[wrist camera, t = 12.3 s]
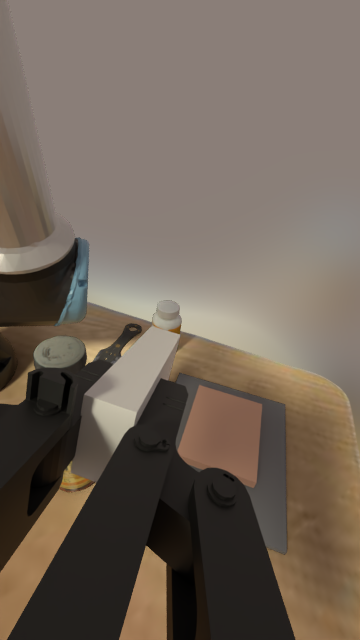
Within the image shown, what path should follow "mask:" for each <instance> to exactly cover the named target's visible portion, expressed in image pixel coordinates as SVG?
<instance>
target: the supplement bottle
mask: <svg viewBox="0 0 360 640" xmlns="http://www.w3.org/2000/svg"><path fill="white" fill-rule="evenodd" d="M179 309H180V308H179V305H178V304H177V303H176V302H173V301H169V300H166V301H161V302H159V303H158V305H157V312H156V313H155V314H154V315H153V318H152V326H153V327H157V328H160V329H163V330H166V331H170V332H173V333H176V334H180V328H181V322H182V321H181V317H180V315H179ZM177 349H178V347H177Z"/></svg>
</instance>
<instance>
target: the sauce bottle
mask: <svg viewBox="0 0 360 640" xmlns="http://www.w3.org/2000/svg"><path fill="white" fill-rule="evenodd" d="M33 358H34V366H35V369H40V368H46V367H51V368H61V369H66V370H68V371H70V372H72V373H73V374H74V375H75V374H76V373H77V372H79V371H81V369H82V368H83V367H85V364H86V360H87V355H86V348H85V345H84V343H83V342H82V341H81V340H79V339H77V338H75V337H71V336H55V337H53V338H49V339H47V340H45V341H43V342H42V343H40V344H39V345H38V346H37V347H36V349H35V351H34V353H33ZM72 462H73V460H72V461H71V462H70V464H69V465H68V466H67V468H66V469H65V470H64V474H63V480H62V483H61V485H60V489H61V490H63V491H66V492H76V491H80V490H82V489H86V488H87V487H89V486H90V485H91V484H92V483H93V482H94V481H92V480H89V479H86V478H83V477H81V476H78V475H75V474H73V473H71V468H72Z"/></svg>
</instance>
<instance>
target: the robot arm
mask: <svg viewBox="0 0 360 640" xmlns="http://www.w3.org/2000/svg"><path fill="white" fill-rule="evenodd" d="M88 265H89V242H88V241H87V240H84V239H81V238H75V236H74V231H73V228H72V226H71V224H70V223H69V222H68V221H67V220H66V219H65V218H64V217H63V216H61V215H59V214H58V213H56V212H55V207H54V203H53V198H52V194H51V189H50V185H49V181H48V176H47V172H46V167H45V164H44V158H43V154H42V149H41V145H40V141H39V136H38V132H37V127H36V123H35V118H34V114H33V110H32V106H31V101H30V97H29V92H28V87H27V83H26V78H25V74H24V69H23V65H22V61H21V56H20V52H19V47H18V43H17V38H16V34H15V30H14V25H13V21H12V17H11V12H10V8H9V3H8V0H0V327H9V326H59V325H60V324H71V323H78V322H80V321H82V320H83V319H84V318H85V316H86V311H87V289H88ZM180 336H181V335H180V334H176V333H173V332H170V331H166V330H163V329H160V328H157V327H153V326H151V327H150V328H149V329H148V330H147V331H146V332H145V333H144V334H143V335H142V336H141V337H140V338H139V339H138V340H137V341H136V342H135V343H134V344H133V345H132V346H131V347H130V348H129V349H128V350H127V351H126V352H125V353H124V355H123V356H122V357H121V358H120V359H119V360H118V361H117V362H116V363H115V364H113V363H110V362H106V361H103V360H97V361H94V362H91V363H88V364H87V365H86V366H85V367H83V368H82V369H81V371H79V372H77V373H76V374H75V375H74V374H73V373H72V372H70V371H68V370H66V369H61V368H51V367H46V368H40V369H36V370H33V371H31V372H29V373H28V381H27V391H26V399H25V400H24V401H23V402H21V403H20V404H19V405H9V404H0V572H1V570H2V569H3V568H4V566H5V565H6V563H7V562H8V560H9V559H10V558H11V556H12V555H13V553H14V552H15V551H16V549H17V548H18V546H19V545H20V543H21V542H22V541H23V539H24V538H25V536H26V535H27V533H28V532H29V531H30V529H31V528H32V526H33V525H34V524H35V522H36V521H37V519H38V518H39V516H40V515H41V514H42V512H43V511H44V509H45V508H46V506H47V505H48V504H49V502H50V501H51V499H52V498H53V497H54V495H55V494H56V492H57V491H58V489H59V488H60V485H61V483H62V480H63V474H64V470H65V469H66V468H67V466H68V465H69V464H70V462H71V461H72V460H73V462H72V468H71V473H73V474H75V475H78V476H81V477H83V478H86V479H89V480H92V481H94V482H97V483H96V485H95V486H94V488H93V490H92V492H91V493H90V495H89V497H88V499H87V500H86V502H85V504H84V506H83V507H82V509H81V511H80V513H79V514H78V516H77V518H76V520H75V521H74V523H73V525H72V527H71V528H70V530H69V532H68V534H67V535H66V537H65V539H64V541H63V542H62V544H61V546H60V548H59V549H58V551H57V553H56V555H55V556H54V558H53V560H52V562H51V563H50V565H49V567H48V569H47V570H46V572H45V574H44V576H43V578H42V579H41V581H40V583H39V585H38V586H37V588H36V590H35V592H34V593H33V595H32V597H31V599H30V600H29V602H28V604H27V606H26V607H25V609H24V611H23V613H22V614H21V616H20V618H19V620H18V621H17V623H16V625H15V627H14V628H13V630H12V632H11V634H10V635H9V637H8V639H7V640H119V637H120V634H121V630H122V627H123V623H124V620H125V616H126V613H127V609H128V606H129V602H130V599H131V595H132V592H133V588H134V585H135V582H136V578H137V575H138V571H139V568H140V564H141V561H142V557H143V554H144V550H145V547H146V546H148V547H149V548H150V549H151V550H152V551H153V552H154V553H155V554H157V555H158V556H159V557H160V558H161V559H162V560H163V561H164V562H166V563H167V566H166V576H167V640H295V637H294V634H293V630H292V627H291V624H290V621H289V618H288V615H287V612H286V608H285V605H284V602H283V599H282V596H281V593H280V589H279V586H278V583H277V580H276V577H275V574H274V571H273V567H272V564H271V561H270V558H269V555H268V552H267V549H266V545H265V542H264V539H263V536H262V533H261V530H260V527H259V523H258V520H257V517H256V514H255V511H254V508H253V505H252V501H251V498H250V495H249V493H248V491H247V489H246V487H245V486H244V484H243V483H242V482H241V481H240V480H239V479H238V478H237V477H236V476H234V475H233V474H231V473H230V472H228V471H226V470H223V469H220V468H206V469H204V470H202V471H200V472H198V471H196V470H195V469H193V468H192V467H191V466H189V465H188V464H187V463H186V462H185V461H184V460H183V459H182V458H181V457H180V455H179V453H178V451H177V449H176V437H177V434H178V430H179V427H180V423H181V420H182V416H183V413H184V409H185V406H186V402H187V399H188V392H187V389H186V386H183V385H180V384H177V383H174V382H171V381H168V380H169V376H170V372H171V369H172V365H173V361H174V358H175V354H176V350H177V347H178V343H179V339H180ZM16 367H17V358H16V355H15V352H14V349H13V347H12V345H11V344H10V342H9V341H8V340H7V339H6V338H5V337H4V336H3V335H2V334H1V333H0V390H1V389H2V388H3V387H4V386H5V385H6V384H7V383H8V382H9V380H10V379H11V378H12V376H13V375H14V373H15V370H16Z"/></svg>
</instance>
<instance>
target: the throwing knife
mask: <svg viewBox="0 0 360 640" xmlns="http://www.w3.org/2000/svg"><path fill="white" fill-rule="evenodd" d="M131 327H135V328H137V330H136V331H130V330H129V328H131ZM141 330H142V329H141V326H139V325H137V324H128V325H126V326H125V329H124V331H123V333H122V335H121V336H120V337H119V338H118V339H117V340H116V342H114V343H113V344H112V345H111V346H110V347H108V348H106V349H103V350H101V351H100V352H99V353H98V354H97V356H96V357H95V359H94V360H93V362H94V361H97V360H103V361H106V362H110V363H113V364H115V363H116V362H117V361H118V360H119V359H120V358H121V354H120V351H121V350H122V348H123V347H124V346H125V345H126V344H127V342H128V341H129V340H130V339H132V338H133V337H134V336H136V335H137V334H139V333H141ZM111 353H112V354H111ZM109 354H111V355H109ZM106 358H107V360H104V359H106Z"/></svg>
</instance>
